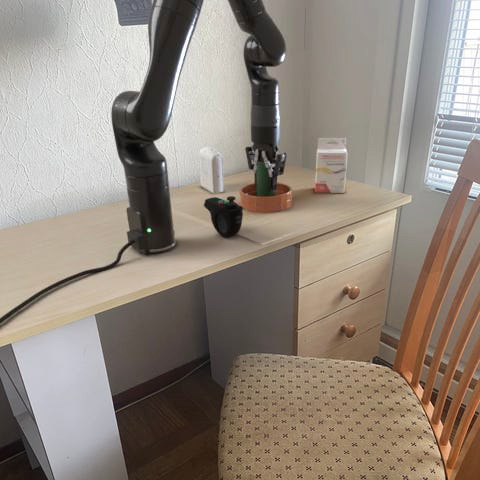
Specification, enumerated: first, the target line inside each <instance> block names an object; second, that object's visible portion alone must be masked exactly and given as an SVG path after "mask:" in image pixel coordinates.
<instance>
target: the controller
mask: <svg viewBox="0 0 480 480" xmlns="http://www.w3.org/2000/svg"><path fill="white" fill-rule="evenodd" d="M236 199H237V198H236V196H234V195H233V196H232V195H231V196H227V197H226V200H225V199H222V198H219V197H217V196H213V197H210V198H209V197H208V198H206V199H204V203H203V207H204V208H205V209H206V210H207V211H208V212H209V214H210V219H211V223H212V226H213V228H214V230H215V231H216V232H217V234H219V235H220V236H221V237H224V238H230V237H233V236H235V235H237V234H238V233H239V232H240V231H241V229H242V224H243V218H244V212H243V210H244V209H243V207H242V206H240V204H238V203H237V202H235V200H236Z"/></svg>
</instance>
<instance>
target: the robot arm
mask: <svg viewBox="0 0 480 480" xmlns="http://www.w3.org/2000/svg"><path fill="white" fill-rule="evenodd" d="M204 1H205V0H153V1H152V3H151V7H150V10H149V12H148V13H149V14H148V19H147V37H148V46H149V61H148V67H147V71H146V73H145V77H144V80H143V83H142V85H141V88H140V90H139V91H137V90H125V91H122V92H120V93H119V94H117V96H116V97H115V98H114V100H113V102H112V106H111V112H110V113H111V115H110V118H111V125H112V131H113V136H114V141H115V146H116V151H117V156H118V159H119V161H120V164H121V165H122V167H123V172H124V176H125V177H124V178H125V184H126V185H125V186H126V193H127V198H128V205H129V206H128V207H126V209H125V210H126V216H127V217H126V218H127V223H128V229H129V230H128V231H126V236H127V241H128V242H127V243H126V244H124V246H122V248H121V249H120V250H119V251H118V253H117V256H116V259H115V260H114V261H113V262H112V263H110V264H107V265H105V266H101V267H96V268H90V269H85V270H83V271H81V272H78V273H75V274H73V275H70V276H68V277H65V278H62V279H61V280H58V281H56V282H54V283H52V284H51V285H48V286H47V287H44V288H43V289H41V290H40V291H38V292H35V294H33V295H31V296H30V297H29V298H27V299H25V300H24V301H22V302H21V303H20V304H18V305H17V306H15V307H13V308H12V309H11V310H9V311H8V312H7V313H5V314H4V315H2V316H1V317H0V324H2V323H4V322H5V321H6V320H8V319H9V318H10V317H11V316H13V315H14V314H15V313H17V312H18V311H21V310H22V309H23V308H25V307H26V306H28V305H29V304H30V303H32V302H33V301H35V300H36V299H38V298H39V297H41V296H43V295H44V294H46V293H48V292H49V291H51V290H54V289H55V288H57V287H60V286H61V285H63V284H66V283H68V282H71V281H73V280H75V279H78V278H81V277H82V276H83V277H84V276H85V275H86V276H87V275H89V274H95V273H99V272H104V271H107V270H110V269H112V268H114V267H116V266H117V265H118V264H119V263H120V261H121V260H122V256H123V255H124V252H125V251H126V250H127V249H128V248H129V247H131V248H133V249H134V250H137V252H140V253H141V254H143V255H149V254H158V253H163V252H168V251H169V250H172V249H173V248H174V247H175V246H176V245H177V244H176V243H177V242H176V238H175V228H174V220H173V219H174V218H173V210H172V200H171V191H170V190H171V189H170V180H169V171H168V170H169V169H168V162H167V158H166V157H165V156H164V155H163V153H162V152H161V151H160V150H159V149H158V148H157V145H156V144H155V142H157V141H159V140H160V139H161V138H162V137H163V136H164V135H165V133H166V131H167V130H168V128H169V125H170V121H171V117H172V114H173V109H174V104H175V101H176V100H175V99H176V95H177V90H178V85H179V81H180V77H181V74H182V71H183V67H184V65H185V61H186V58H187V54H188V51H189V47H190V45H191V42H192V39H193V36H194V33H195V30H196V28H197V24H198V21H199V18H200V15H201V12H202V9H203V5H204ZM227 2H228V5H229V8H230V10H231V12H232V14H233V17H234V19H235V21H236V24H237V26H238V28H239V30H241V32H243V33H245V34H248V35H249V36H247V38H246V39H245V42H244V45H243V50H242V51H243V52H242V53H243V61H244V65H245V69H246V73H247V77H248V81H249V84H250V141H251V142H252V143H253V145H249V146H246V147H245V149H244V150H245V154H246V161H247V166H248V169H249V170H252V172H253V174H254V175H253V176H254V183H255V186H256V187H257V164H258V163H262V162H263V163H265V166H266V169H268V173H269V176H270V177H269V190H270V191H274V190H276V188H277V183H278V177H279V176H282V175H284V173H285V169H286V167H285V166H286V164H287V163H286V162H287V157H288V154H287V152H281V151H280V150H279V146H278V144H279V142H280V140H281V109H280V84H279V80H278V79H277V78H276V77H273V76H271V75H270V74H269V73H268V69H267V68H276V67H279V66H281V65H282V64H283V63H284V61H285V59H286V56H287V45H286V40H285V38H284V36H283V33H282V32H281V31H280V29H279V27H278V26H277V24H276V22H275V21H274V20H273V18H272V17H271V16H270V15H269V13H268V12H267V10H266V6H265V4H264V1H263V0H227ZM272 162H273V164H272V165H270V163H272ZM272 167H273V170H274V172H273V171H272Z"/></svg>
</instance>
